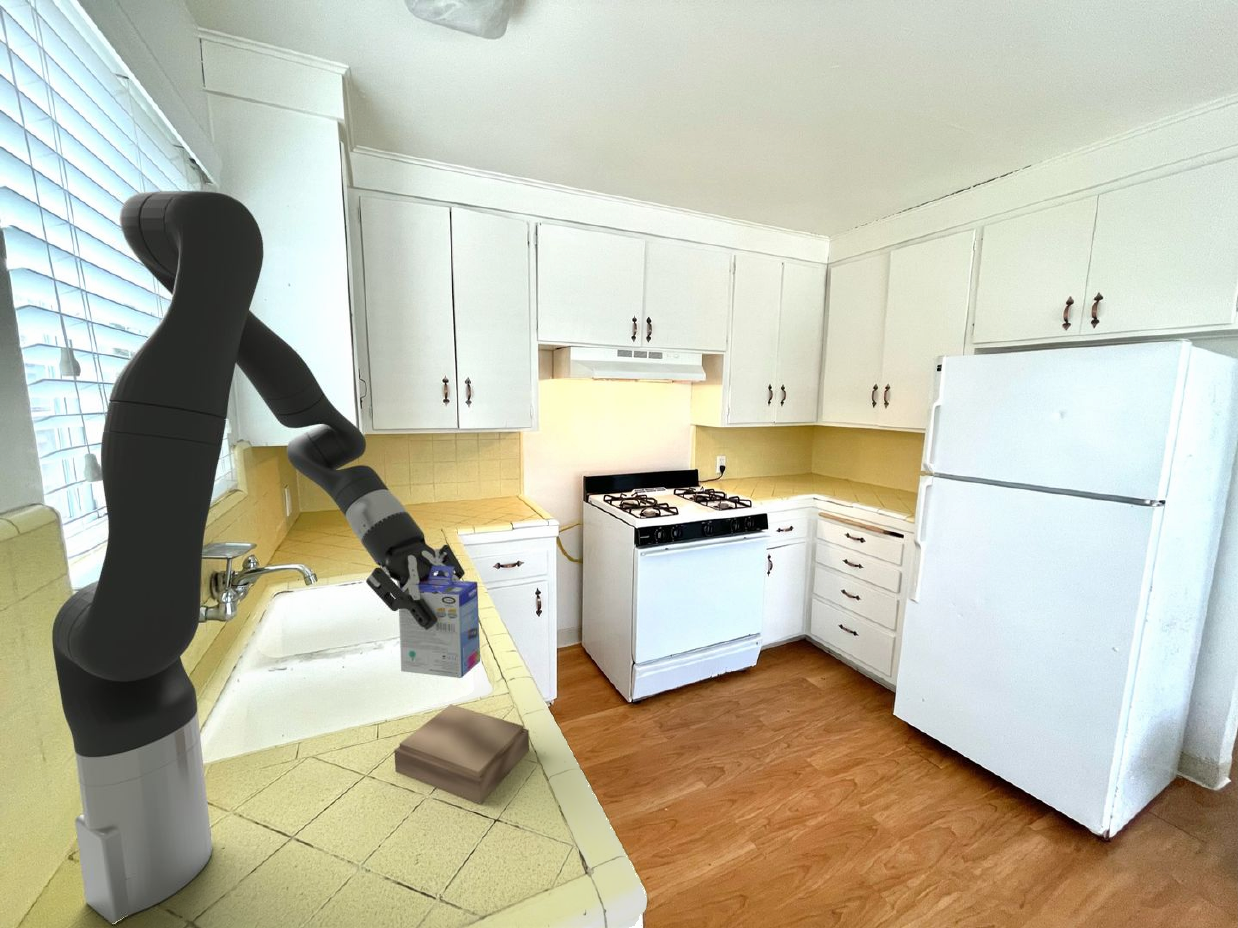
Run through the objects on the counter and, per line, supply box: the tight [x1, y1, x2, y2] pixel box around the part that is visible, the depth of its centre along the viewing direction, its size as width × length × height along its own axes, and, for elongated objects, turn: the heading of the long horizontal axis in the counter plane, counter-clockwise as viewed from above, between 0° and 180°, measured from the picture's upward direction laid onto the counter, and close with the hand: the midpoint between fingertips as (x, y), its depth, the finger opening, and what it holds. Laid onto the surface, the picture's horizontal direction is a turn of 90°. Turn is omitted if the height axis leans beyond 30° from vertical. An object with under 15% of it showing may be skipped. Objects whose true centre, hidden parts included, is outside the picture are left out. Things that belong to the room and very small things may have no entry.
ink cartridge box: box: [398, 565, 481, 679], centre depth 68 cm, size 10×6×14 cm, turn 78°
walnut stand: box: [393, 704, 530, 805], centre depth 69 cm, size 11×15×4 cm
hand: (449, 615), depth 68 cm, fingers closed on ink cartridge box, 6 cm apart
